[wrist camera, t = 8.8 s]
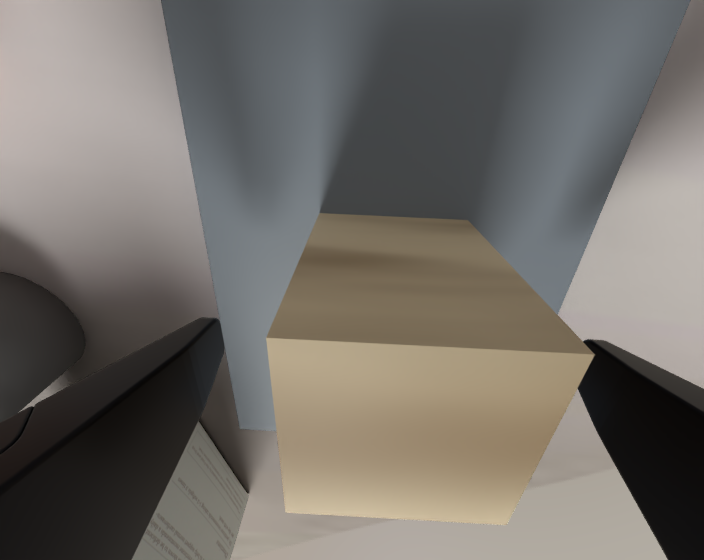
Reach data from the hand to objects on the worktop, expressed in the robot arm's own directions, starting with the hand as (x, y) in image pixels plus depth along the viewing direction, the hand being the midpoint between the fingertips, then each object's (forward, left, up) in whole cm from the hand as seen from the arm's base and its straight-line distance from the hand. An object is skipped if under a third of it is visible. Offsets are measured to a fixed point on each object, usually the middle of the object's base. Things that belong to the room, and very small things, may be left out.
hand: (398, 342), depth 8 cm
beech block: (0, 0, -3) cm, 3 cm away
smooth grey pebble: (-4, +15, -4) cm, 16 cm away
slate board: (0, 0, -4) cm, 4 cm away
